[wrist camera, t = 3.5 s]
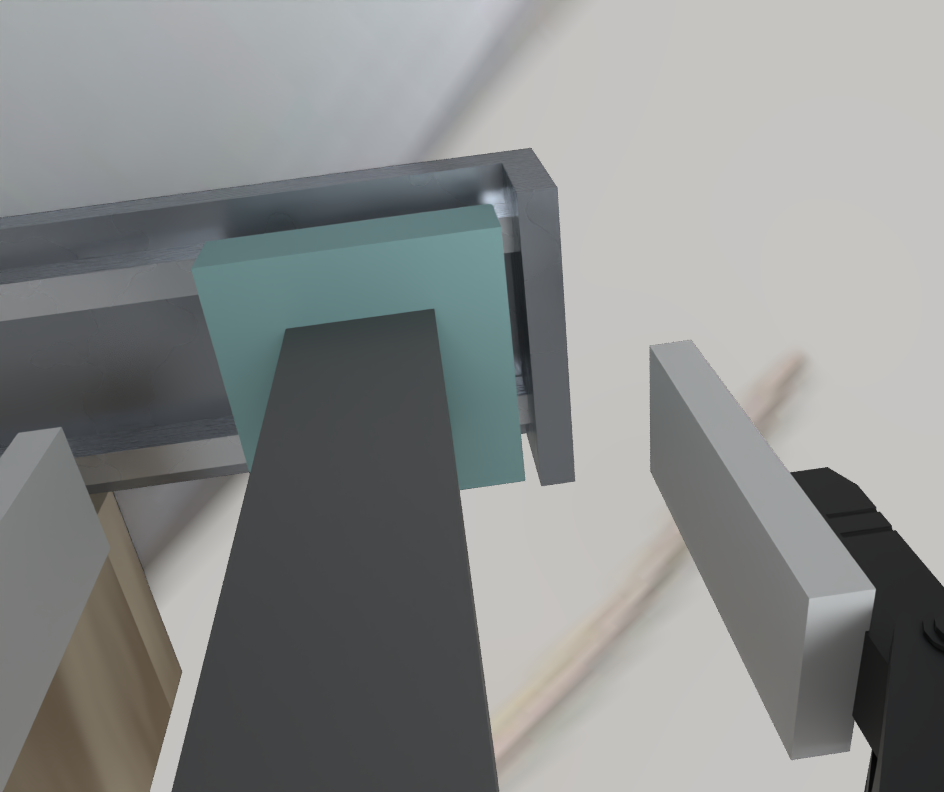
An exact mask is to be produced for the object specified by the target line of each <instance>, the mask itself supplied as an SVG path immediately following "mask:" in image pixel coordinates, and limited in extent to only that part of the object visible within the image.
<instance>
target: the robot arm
mask: <svg viewBox="0 0 944 792" xmlns="http://www.w3.org/2000/svg"><path fill="white" fill-rule="evenodd" d="M650 455H651V456H650V463H651V464H650V467H651V468H650V469H651V473H652V475H653V477H654V480H655V482H656V484H657V486H658V488H659V490H660V492H661V494H662V496H663V498H664V500H665V502H666V504H667V506H668V508H669V510H670V512H671V515H672V517H673V519H674V521H675V523H676V525H677V527H678V529H679V531H680V533H681V535H682V537H683V539H684V541H685V543H686V545H687V547H688V549H689V551H690V554H691V556H692V558H693V560H694V562H695V564H696V566H697V568H698V570H699V572H700V574H701V576H702V578H703V580H704V582H705V584H706V586H707V588H708V591H709V593H710V595H711V596H712V598H713V601H714V603H715V605H716V607H717V609H718V611H719V613H720V615H721V617H722V619H723V621H724V623H725V625H726V627H727V630H728V632H729V633H730V636H731V638H732V640H733V642H734V644H735V646H736V648H737V650H738V652H739V654H740V656H741V658H742V660H743V662H744V664H745V667H746V668H747V671H748V673H749V675H750V677H751V679H752V681H753V683H754V685H755V687H756V689H757V691H758V693H759V695H760V697H761V699H762V701H763V703H764V706H765V708H766V710H767V712H768V714H769V715H770V718H771V720H772V722H773V723H774V726H775V728H776V730H777V732H778V734H779V736H780V738H781V740H782V742H783V745H784V746H785V749H786V751H787V753H788V755H789V757H790V759H791V760H794V759H801V758H808V757H815V756H821V755H828V754H835V753H841V752H847V751H850V745H851V739H852V733H853V727H854V721H856V723H857V725H858V726H859V728H860V730H861V731H862V733H863V735H864V736H865V738H866V740H867V741H868V743H869V745H870V747H871V748H872V752H871V758H870V764H869V769H868V774H867V780H866V785H865V791H864V792H944V587H943V586H942V585H941V583H940V582H939V581H938V580H937V579H936V577H935V576H934V575H933V574H932V573H931V571H930V570H929V569H928V568H927V567H926V566H925V564H924V563H923V562H922V561H921V560H920V559H919V557H918V556H917V555H916V554H915V553H914V552H913V550H912V549H911V548H910V547H909V545H908V544H907V543H906V542H905V541H904V540H903V538H902V537H901V536H900V535H899V534H898V532H897V531H896V530H894V531H893V530H892V525H891V524H890V523H889V522H888V521H887V519H886V518H885V517H884V516H883V515H882V514H881V513H880V512H877V510H876V506H875V505H874V504H873V503H872V502H871V501H870V500H869V498H868V497H867V496H866V495H865V493H864V492H863V491H862V490H861V489H860V488H859V486H858V485H857V484H855V483H853V482H851V481H850V480H848V479H846V478H845V477H843V476H841V475H840V474H838V473H836V472H834V471H833V470H831V469H830V468H828V467H825V468H818V469H811V470H804V471H797V472H789V471H788V470H787V468H786V467H785V466H784V464H783V463H782V461H781V460H780V459H779V457H778V456H777V455H776V453H775V452H774V451H773V449H772V448H771V447H770V445H769V444H768V443H767V441H766V440H765V439H764V437H763V436H762V434H761V433H760V432H759V430H758V429H757V428H756V426H755V425H754V424H753V422H752V421H751V420H750V418H749V417H748V416H747V414H746V413H745V412H744V410H743V409H742V407H741V406H740V405H739V403H738V402H737V401H736V399H735V398H734V397H733V395H732V394H731V393H730V391H729V390H728V389H727V387H726V386H725V385H724V383H723V382H722V381H721V379H720V378H719V376H718V375H717V374H716V372H715V371H714V370H713V368H712V367H711V366H710V364H709V363H708V362H707V360H706V359H705V358H704V356H703V355H702V354H701V352H700V351H699V350H698V348H697V347H696V345H695V344H694V343H693V341H692V340H687V341H679V342H672V343H665V344H658V345H650ZM109 551H110V545H109V543H108V540H107V538H106V535H105V533H104V530H103V528H102V526H101V523H100V521H99V518H98V516H97V513H96V511H95V508H94V506H93V503H92V501H91V498H90V496H89V493H88V491H87V488H86V486H85V483H84V481H83V479H82V476H81V474H80V471H79V469H78V466H77V464H76V461H75V459H74V456H73V454H72V451H71V449H70V446H69V444H68V441H67V439H66V436H65V434H64V432H63V429H62V427H57V428H50V429H43V430H36V431H28V432H21V433H18V434H17V435H16V437H15V438H14V439H13V441H12V442H11V444H10V445H9V446H8V448H7V449H6V451H5V452H4V453H3V455H2V456H1V457H0V792H3V790H4V788H5V786H6V783H7V781H8V779H9V777H10V774H11V772H12V770H13V768H14V765H15V763H16V761H17V758H18V756H19V754H20V752H21V749H22V747H23V745H24V743H25V740H26V738H27V736H28V734H29V731H30V729H31V727H32V725H33V722H34V720H35V718H36V716H37V713H38V711H39V709H40V707H41V704H42V702H43V700H44V697H45V695H46V693H47V691H48V688H49V686H50V684H51V682H52V679H53V677H54V675H55V673H56V670H57V668H58V666H59V664H60V661H61V659H62V657H63V655H64V652H65V650H66V648H67V646H68V643H69V641H70V639H71V636H72V634H73V632H74V630H75V627H76V625H77V623H78V621H79V618H80V616H81V614H82V612H83V609H84V607H85V605H86V603H87V600H88V598H89V596H90V594H91V591H92V589H93V587H94V585H95V582H96V580H97V578H98V575H99V573H100V571H101V569H102V566H103V564H104V562H105V560H106V557H107V555H108V553H109Z"/></svg>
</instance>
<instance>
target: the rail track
mask: <svg viewBox="0 0 944 792" xmlns="http://www.w3.org/2000/svg"><path fill="white" fill-rule="evenodd" d="M490 203H492V204H493V207H494V209H495V212H496V215H497V217H498V220H499V222H500V225H501V230H502V241H503V251H504V262H505V272H506V283H507V293H508V304H509V314H510V325H511V335H512V346H513V356H514V367H515V377H516V388H517V399H518V409H519V420H520V430H521V434H523V433H527V437H528V440H529V444H530V447H531V451H532V454H533V458H534V462H535V465H536V469H537V472H538V476H539V479H540V483H541V486H546V485H553V484H560V483H567V482H574V481H575V472H574V456H573V440H572V424H571V423H572V422H571V406H570V391H569V390H570V389H569V373H568V356H567V340H566V323H565V308H564V307H565V306H564V290H563V273H562V256H561V241H560V223H559V207H558V190H557V186H556V185H555V183H554V182H553V180H552V179H551V177H550V176H549V174H548V173H547V171H546V170H545V168H544V166H543V165H542V163H541V162H540V161H539V159H538V158H537V156H536V154H535V153H534V152H533V150H532V148H528V149H519V150H512V151H504V152H497V153H489V154H481V155H474V156H466V157H459V158H451V159H444V160H436V161H428V162H421V163H413V164H406V165H398V166H391V167H383V168H375V169H368V170H360V171H353V172H345V173H338V174H330V175H322V176H315V177H307V178H300V179H292V180H285V181H277V182H269V183H262V184H254V185H247V186H239V187H232V188H224V189H216V190H209V191H201V192H194V193H186V194H179V195H171V196H163V197H156V198H148V199H141V200H133V201H126V202H118V203H110V204H103V205H95V206H88V207H80V208H73V209H65V210H57V211H50V212H42V213H35V214H27V215H20V216H12V217H4V218H0V457H1V456H2V455H3V453H4V452H5V451H6V449H7V448H8V446H9V445H10V444H11V442H12V441H13V439H14V438H15V437H16V435H17V434H18V433H21V432H28V431H36V430H43V429H50V428H57V427H62V429H63V432H64V434H65V436H66V439H67V441H68V444H69V446H70V449H71V451H72V454H73V456H74V459H75V461H76V464H77V466H78V469H79V471H80V474H81V476H82V479H83V481H84V483H85V486H86V488H87V491H88V493H89V495H90V494H97V493H104V492H111V491H118V490H125V489H133V488H140V487H147V486H154V485H161V484H168V483H175V482H182V481H189V480H197V479H204V478H211V477H218V476H225V475H232V474H239V473H246V472H249V469H248V466H247V463H246V459H245V456H244V452H243V449H242V445H241V442H240V438H239V435H238V431H237V428H236V424H235V421H234V417H233V414H232V410H231V407H230V403H229V400H228V396H227V393H226V389H225V386H224V382H223V379H222V375H221V372H220V368H219V365H218V361H217V358H216V354H215V351H214V347H213V344H212V340H211V337H210V333H209V330H208V326H207V323H206V319H205V316H204V313H203V309H202V306H201V302H200V299H199V295H198V292H197V288H196V285H195V281H194V278H193V274H192V271H191V267H192V266H193V264H194V262H195V260H196V258H197V257H198V255H199V253H200V251H201V250H202V248H203V246H204V244H205V243H206V241H213V240H221V239H228V238H236V237H243V236H251V235H258V234H266V233H273V232H281V231H288V230H296V229H303V228H311V227H318V226H326V225H333V224H341V223H348V222H356V221H363V220H371V219H378V218H386V217H393V216H401V215H408V214H415V213H423V212H430V211H438V210H445V209H453V208H460V207H468V206H475V205H483V204H490Z"/></svg>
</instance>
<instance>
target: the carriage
mask: <svg viewBox="0 0 944 792" xmlns="http://www.w3.org/2000/svg"><path fill="white" fill-rule="evenodd" d="M191 271H192V274H193V278H194V281H195V285H196V288H197V292H198V295H199V299H200V302H201V306H202V309H203V313H204V316H205V319H206V323H207V326H208V330H209V333H210V337H211V340H212V344H213V347H214V351H215V354H216V358H217V361H218V365H219V368H220V372H221V375H222V379H223V382H224V386H225V389H226V393H227V396H228V400H229V403H230V407H231V410H232V414H233V417H234V421H235V424H236V428H237V431H238V435H239V438H240V442H241V445H242V449H243V452H244V456H245V459H246V463H247V466H248V469H249V473H250V476H249V480H248V484H247V488H246V492H245V496H244V500H243V504H242V508H241V512H240V516H239V520H238V524H237V528H236V533H235V537H234V541H233V545H232V549H231V553H230V557H229V561H228V565H227V569H226V573H225V577H224V581H223V585H222V589H221V594H220V597H219V602H218V605H217V610H216V614H215V618H214V622H213V626H212V630H211V634H210V638H209V642H208V646H207V650H206V654H205V659H204V662H203V666H202V670H201V674H200V678H199V683H198V687H197V691H196V695H195V699H194V703H193V707H192V711H191V715H190V719H189V723H188V727H187V731H186V735H185V740H184V744H183V748H182V752H181V755H180V760H179V764H178V768H177V772H176V776H175V780H174V784H173V788H172V792H499V786H498V778H497V771H496V763H495V755H494V748H493V740H492V733H491V725H490V718H489V710H488V702H487V695H486V687H485V680H484V672H483V665H482V657H481V649H480V642H479V634H478V627H477V619H476V612H475V604H474V596H473V589H472V582H471V574H470V566H469V559H468V551H467V543H466V536H465V529H464V521H463V513H462V506H461V498H460V490H464V489H471V488H478V487H485V486H492V485H499V484H506V483H514V482H520V481H525V472H524V462H523V451H522V441H521V430H520V420H519V409H518V399H517V388H516V377H515V367H514V356H513V346H512V335H511V325H510V314H509V304H508V293H507V283H506V272H505V262H504V251H503V241H502V230H501V225H500V222H499V220H498V217H497V215H496V212H495V209H494V207H493V204H492V203H490V204H483V205H475V206H468V207H460V208H453V209H445V210H438V211H430V212H423V213H415V214H408V215H401V216H393V217H386V218H378V219H371V220H363V221H356V222H348V223H341V224H333V225H326V226H318V227H311V228H303V229H296V230H288V231H281V232H273V233H266V234H258V235H251V236H243V237H236V238H228V239H221V240H213V241H206V243H205V244H204V246H203V248H202V250H201V251H200V253H199V255H198V257H197V258H196V260H195V262H194V264H193V266H192V267H191Z"/></svg>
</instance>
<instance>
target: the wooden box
mask: <svg viewBox="0 0 944 792" xmlns="http://www.w3.org/2000/svg"><path fill="white" fill-rule="evenodd" d="M89 496H90V498H91V501H92V503H93V506H94V508H95V511H96V513H97V516H98V518H99V521H100V523H101V526H102V528H103V530H104V533H105V535H106V538H107V540H108V543H109V545H110V551H109V553H108V555H107V557H106V560H105V562H104V564H103V566H102V569H101V571H100V573H99V575H98V578H97V580H96V582H95V585H94V587H93V589H92V591H91V594H90V596H89V598H88V600H87V603H86V605H85V607H84V609H83V612H82V614H81V616H80V618H79V621H78V623H77V625H76V627H75V630H74V632H73V634H72V636H71V639H70V641H69V643H68V646H67V648H66V650H65V652H64V655H63V657H62V659H61V661H60V664H59V666H58V668H57V670H56V673H55V675H54V677H53V679H52V682H51V684H50V686H49V688H48V691H47V693H46V695H45V697H44V700H43V702H42V704H41V707H40V709H39V711H38V713H37V716H36V718H35V720H34V722H33V725H32V727H31V729H30V731H29V734H28V736H27V738H26V740H25V743H24V745H23V747H22V749H21V752H20V754H19V756H18V758H17V761H16V763H15V765H14V768H13V770H12V772H11V774H10V777H9V779H8V781H7V783H6V786H5V788H4V790H3V792H150V788H151V784H152V781H153V777H154V773H155V770H156V766H157V762H158V759H159V755H160V751H161V747H162V744H163V740H164V737H165V733H166V729H167V726H168V722H169V718H170V714H171V711H172V707H173V704H174V700H175V696H176V693H177V689H178V685H179V682H180V678H181V674H182V670H181V667H180V665H179V662H178V660H177V657H176V655H175V652H174V649H173V647H172V644H171V642H170V639H169V636H168V634H167V631H166V629H165V626H164V624H163V621H162V619H161V616H160V613H159V611H158V608H157V605H156V603H155V600H154V598H153V595H152V593H151V590H150V587H149V585H148V582H147V580H146V577H145V574H144V572H143V569H142V567H141V564H140V562H139V559H138V556H137V554H136V551H135V549H134V546H133V543H132V541H131V538H130V536H129V533H128V531H127V528H126V525H125V523H124V520H123V518H122V515H121V513H120V510H119V507H118V505H117V502H116V500H115V497H114V494H113V492H112V491H111V492H104V493H97V494H90V495H89Z"/></svg>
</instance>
